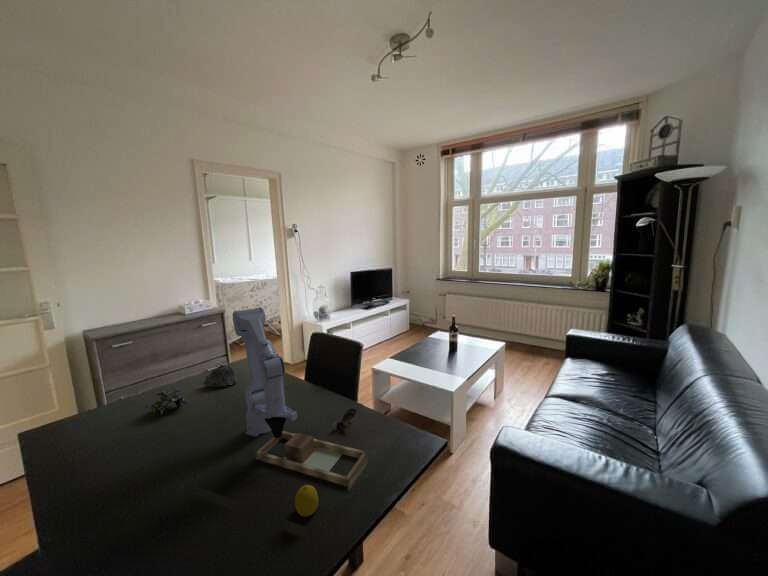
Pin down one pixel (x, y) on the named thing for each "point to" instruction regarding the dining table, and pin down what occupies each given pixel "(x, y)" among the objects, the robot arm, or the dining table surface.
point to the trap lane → (318, 460)
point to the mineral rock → (221, 376)
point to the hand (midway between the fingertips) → (278, 436)
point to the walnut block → (299, 448)
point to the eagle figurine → (345, 420)
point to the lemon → (306, 500)
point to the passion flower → (169, 398)
